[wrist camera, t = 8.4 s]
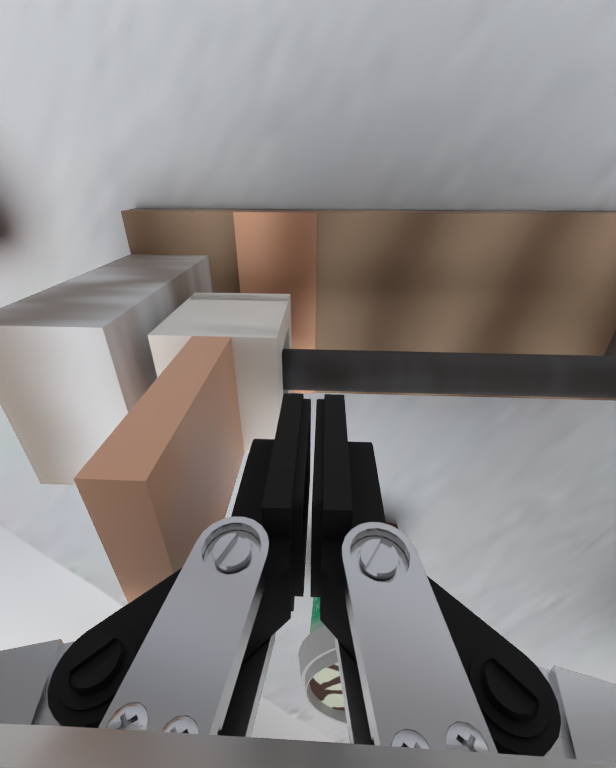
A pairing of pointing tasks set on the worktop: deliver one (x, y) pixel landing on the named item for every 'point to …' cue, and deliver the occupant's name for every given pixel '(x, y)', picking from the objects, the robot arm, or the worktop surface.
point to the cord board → (323, 312)
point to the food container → (322, 668)
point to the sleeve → (187, 432)
